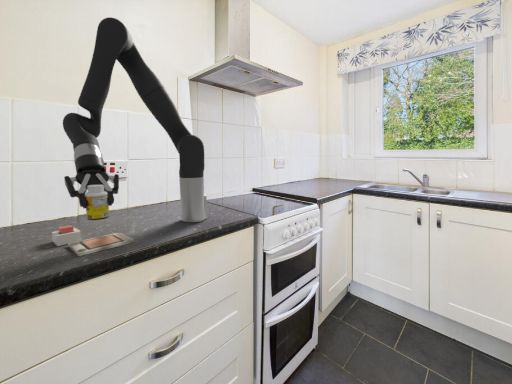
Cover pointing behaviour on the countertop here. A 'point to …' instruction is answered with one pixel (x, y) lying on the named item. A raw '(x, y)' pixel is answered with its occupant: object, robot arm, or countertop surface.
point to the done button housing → (66, 237)
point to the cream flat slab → (99, 243)
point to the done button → (65, 229)
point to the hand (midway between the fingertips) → (98, 205)
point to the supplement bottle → (97, 203)
